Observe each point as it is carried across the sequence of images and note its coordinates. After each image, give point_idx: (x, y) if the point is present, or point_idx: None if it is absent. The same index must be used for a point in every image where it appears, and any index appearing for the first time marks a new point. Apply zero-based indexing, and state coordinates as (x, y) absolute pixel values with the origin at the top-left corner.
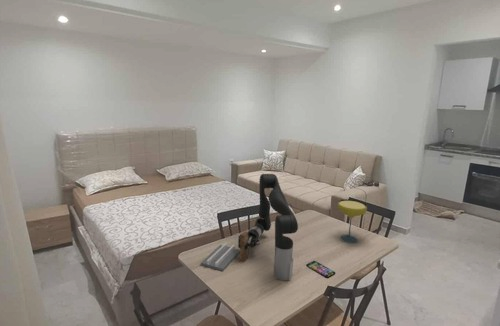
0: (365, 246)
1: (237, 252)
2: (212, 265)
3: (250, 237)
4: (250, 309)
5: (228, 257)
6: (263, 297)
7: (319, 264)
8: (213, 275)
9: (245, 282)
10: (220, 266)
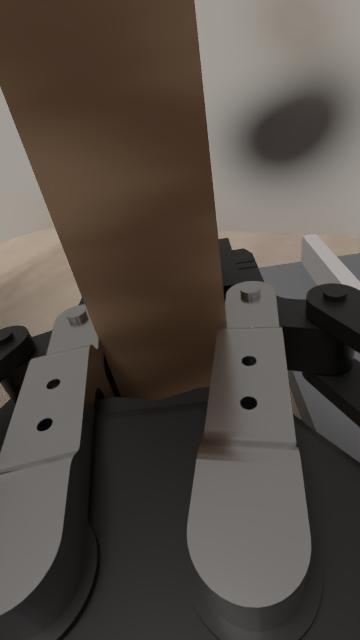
0: None
1: None
2: (339, 258)
3: (36, 476)
4: (53, 240)
5: None
6: (7, 274)
7: None
8: (272, 254)
9: None
10: (285, 272)
